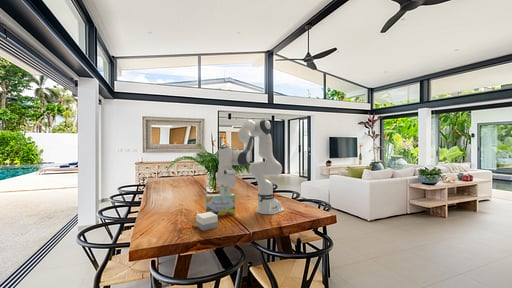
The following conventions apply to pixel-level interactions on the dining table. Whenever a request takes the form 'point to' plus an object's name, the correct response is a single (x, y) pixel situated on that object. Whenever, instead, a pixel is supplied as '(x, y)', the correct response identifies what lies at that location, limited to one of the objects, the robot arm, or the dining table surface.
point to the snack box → (220, 204)
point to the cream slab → (206, 218)
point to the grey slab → (206, 225)
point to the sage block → (224, 191)
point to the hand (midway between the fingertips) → (225, 191)
